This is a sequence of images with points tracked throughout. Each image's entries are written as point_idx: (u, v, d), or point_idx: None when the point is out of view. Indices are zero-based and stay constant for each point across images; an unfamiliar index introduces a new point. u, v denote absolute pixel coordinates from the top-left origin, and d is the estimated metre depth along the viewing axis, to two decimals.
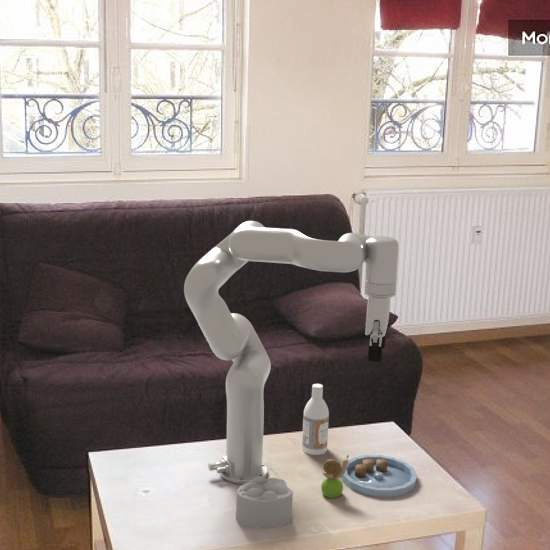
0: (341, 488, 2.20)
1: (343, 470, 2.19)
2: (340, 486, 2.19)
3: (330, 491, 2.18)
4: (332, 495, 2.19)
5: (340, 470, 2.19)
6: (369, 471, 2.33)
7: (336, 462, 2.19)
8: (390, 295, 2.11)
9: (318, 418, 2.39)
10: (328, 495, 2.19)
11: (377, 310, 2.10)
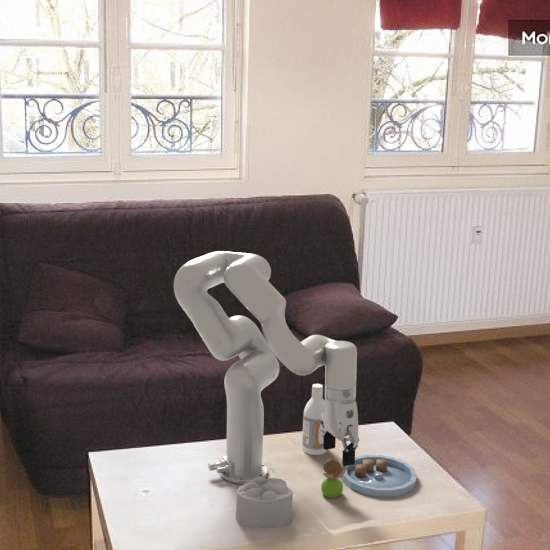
0: (341, 488, 2.20)
1: (343, 470, 2.19)
2: (340, 486, 2.19)
3: (330, 491, 2.18)
4: (332, 495, 2.19)
5: (340, 470, 2.19)
6: (369, 471, 2.33)
7: (336, 462, 2.19)
8: None
9: (318, 418, 2.39)
10: (328, 495, 2.19)
11: None
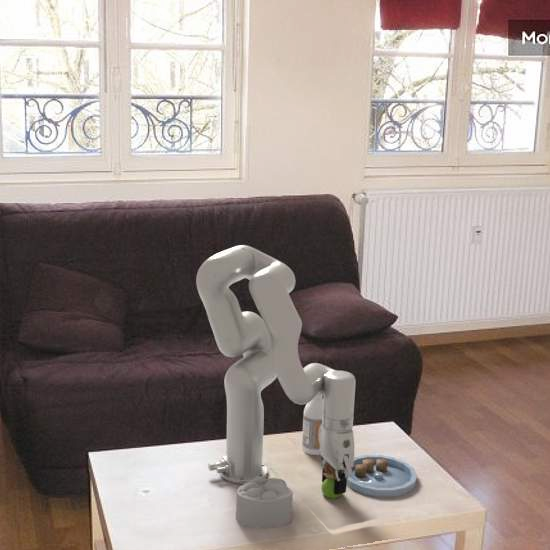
0: None
1: None
2: None
3: (331, 491, 2.18)
4: (333, 495, 2.19)
5: (340, 470, 2.19)
6: (369, 471, 2.33)
7: None
8: None
9: (318, 418, 2.39)
10: (328, 495, 2.19)
11: None
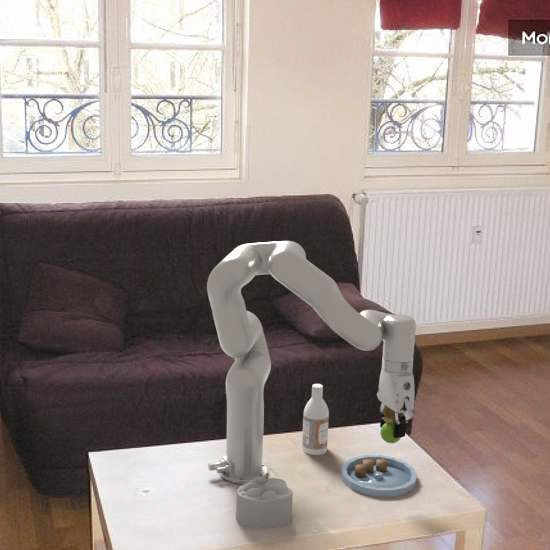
0: None
1: None
2: None
3: (390, 435, 2.19)
4: (392, 439, 2.20)
5: (400, 414, 2.20)
6: (369, 471, 2.33)
7: None
8: None
9: (318, 418, 2.39)
10: (388, 439, 2.20)
11: None
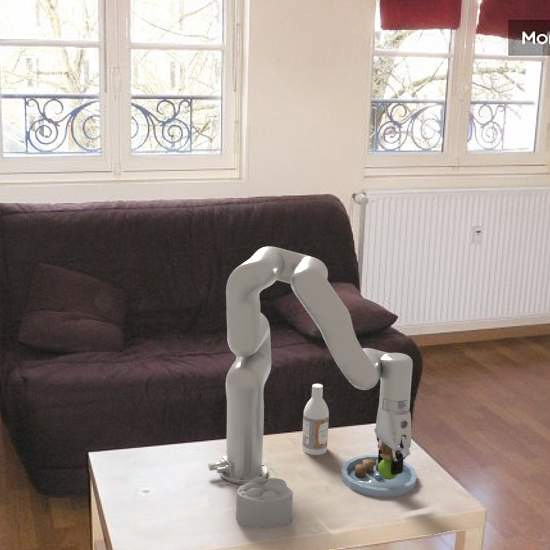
0: None
1: None
2: None
3: (388, 472, 2.22)
4: (390, 476, 2.22)
5: (397, 451, 2.22)
6: (369, 471, 2.33)
7: None
8: None
9: (318, 418, 2.39)
10: (385, 476, 2.23)
11: None
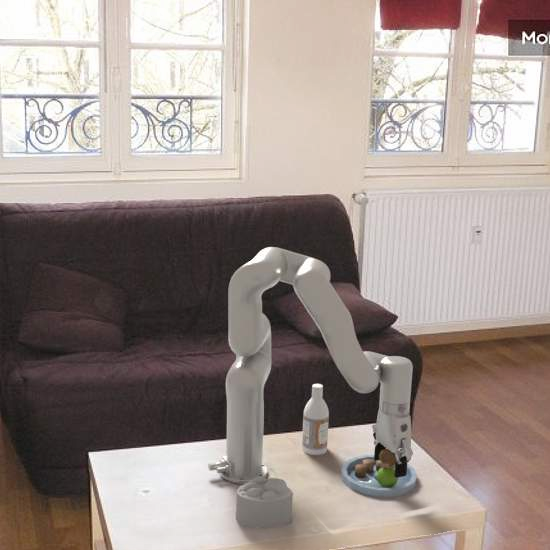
0: None
1: None
2: None
3: (386, 480, 2.23)
4: (388, 484, 2.23)
5: None
6: (369, 471, 2.33)
7: None
8: None
9: (318, 418, 2.39)
10: (384, 484, 2.23)
11: None
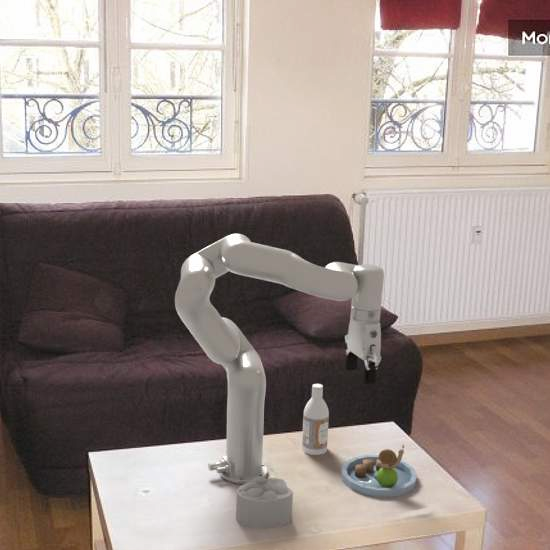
0: (396, 477, 2.24)
1: (399, 460, 2.23)
2: (395, 475, 2.24)
3: (386, 480, 2.23)
4: (388, 484, 2.23)
5: (396, 460, 2.23)
6: (369, 471, 2.33)
7: (392, 452, 2.23)
8: None
9: (318, 418, 2.39)
10: (384, 484, 2.23)
11: None
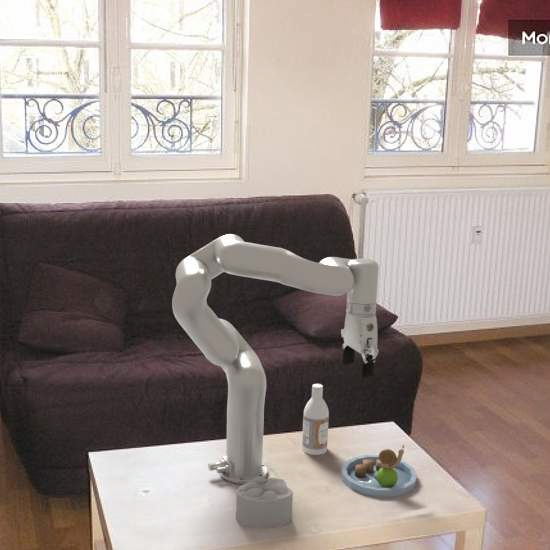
0: (396, 477, 2.24)
1: (399, 460, 2.23)
2: (395, 475, 2.24)
3: (386, 480, 2.23)
4: (388, 484, 2.23)
5: (396, 460, 2.23)
6: (369, 471, 2.33)
7: (392, 452, 2.23)
8: None
9: (318, 418, 2.39)
10: (384, 484, 2.23)
11: None
